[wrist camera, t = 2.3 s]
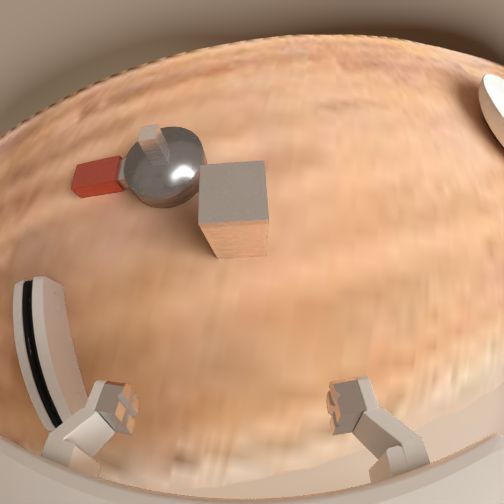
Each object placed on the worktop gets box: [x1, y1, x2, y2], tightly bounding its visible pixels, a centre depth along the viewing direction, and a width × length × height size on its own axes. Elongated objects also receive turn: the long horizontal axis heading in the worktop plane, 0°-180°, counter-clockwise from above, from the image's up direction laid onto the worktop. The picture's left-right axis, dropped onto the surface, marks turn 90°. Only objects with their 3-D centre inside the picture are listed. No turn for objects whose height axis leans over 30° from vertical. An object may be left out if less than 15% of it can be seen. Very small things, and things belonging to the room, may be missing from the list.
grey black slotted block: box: [13, 276, 88, 431], centre depth 22 cm, size 17×5×10 cm, turn 19°
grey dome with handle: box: [71, 124, 207, 208], centre depth 27 cm, size 16×9×8 cm, turn 93°
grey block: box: [198, 161, 269, 258], centre depth 24 cm, size 5×5×9 cm
